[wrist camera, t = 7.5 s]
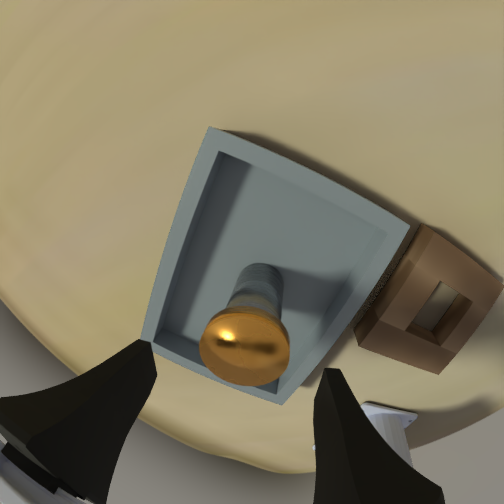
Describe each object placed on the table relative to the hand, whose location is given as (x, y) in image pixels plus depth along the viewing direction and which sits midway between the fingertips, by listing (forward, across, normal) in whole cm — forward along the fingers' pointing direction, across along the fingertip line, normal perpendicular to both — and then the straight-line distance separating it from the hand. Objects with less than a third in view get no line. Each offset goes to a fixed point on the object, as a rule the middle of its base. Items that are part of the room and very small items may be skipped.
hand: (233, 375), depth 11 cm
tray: (+9, 0, 0) cm, 9 cm away
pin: (+8, 0, 0) cm, 8 cm away
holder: (+9, -13, 0) cm, 16 cm away
